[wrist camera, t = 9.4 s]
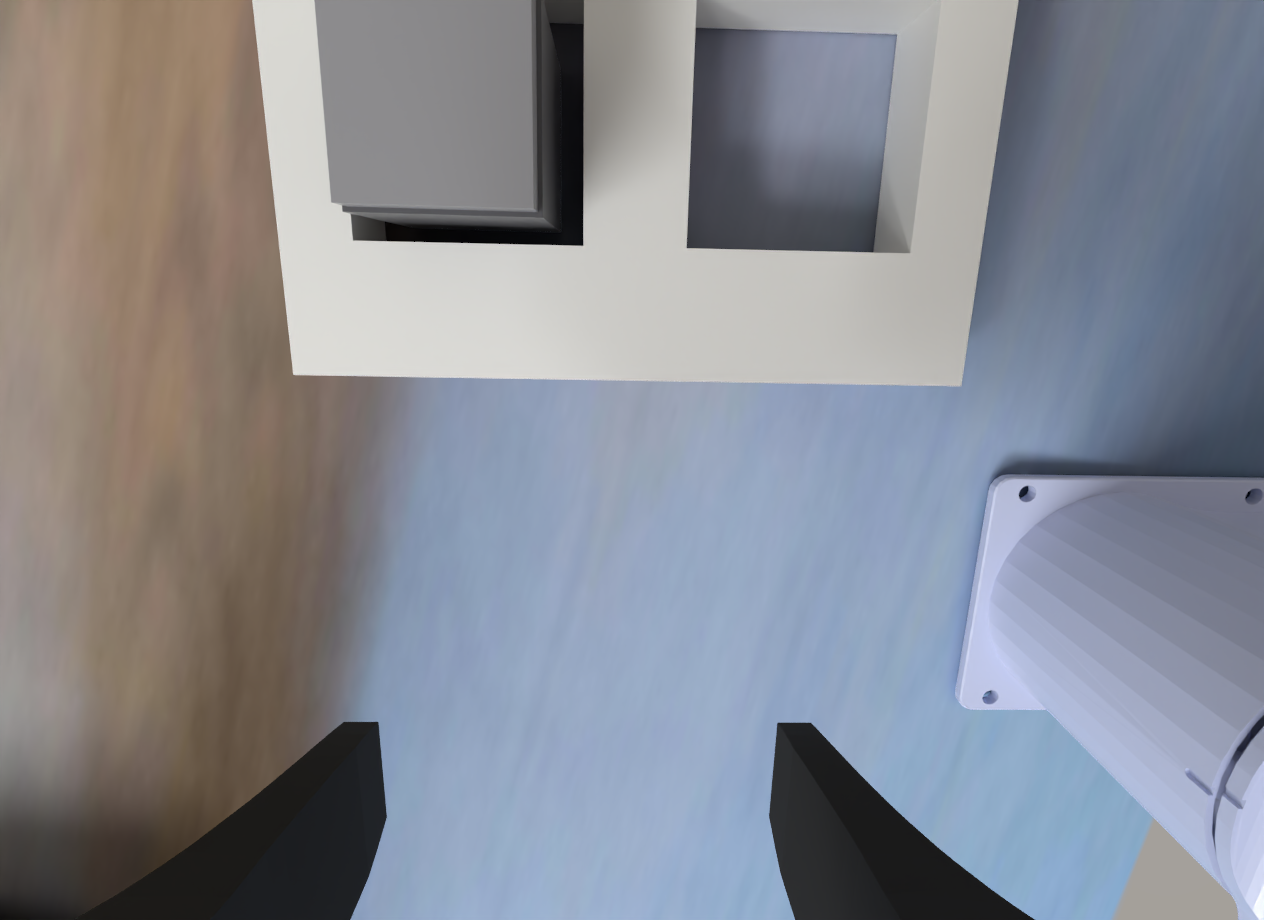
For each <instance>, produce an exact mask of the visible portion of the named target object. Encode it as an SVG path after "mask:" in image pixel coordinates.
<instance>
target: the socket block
mask: <svg viewBox="0 0 1264 920" xmlns="http://www.w3.org/2000/svg"><path fill="white" fill-rule="evenodd" d="M1018 1H1019V0H544V4H545V8H546V12H547V16H548V20H549V23H564V24H584V192H583V246H569V245H525V244H482V243H438V242H395V241H386V231H385V221H380V220H376V219H372V218H368V217H363V216H359V215H355V214H350V213H346V212H343V211H342V205H339V204H335V203H331V193H330V181H329V169H328V157H327V145H326V133H325V121H324V109H323V97H322V85H321V73H320V61H319V49H318V37H317V25H316V13H315V1H314V0H252V2H253V11H254V20H255V29H256V38H257V47H258V56H259V65H260V74H261V84H262V93H263V102H264V111H265V120H266V129H267V138H268V147H269V156H270V166H271V175H272V184H273V193H274V202H275V211H276V220H277V229H278V238H279V248H280V257H281V266H282V275H283V284H284V293H285V302H286V311H287V321H288V330H289V339H290V348H291V357H292V366H293V375H329V376H388V377H447V378H505V379H564V380H623V381H681V382H740V383H799V384H857V385H916V386H961V384H962V377H963V370H964V363H965V357H966V350H967V343H968V337H969V330H970V323H971V316H972V310H973V303H974V296H975V290H976V283H977V276H978V270H979V263H980V256H981V249H982V243H983V236H984V229H985V223H986V216H987V209H988V202H989V196H990V189H991V182H992V176H993V169H994V162H995V155H996V149H997V142H998V135H999V129H1000V122H1001V115H1002V108H1003V102H1004V95H1005V88H1006V82H1007V75H1008V68H1009V61H1010V55H1011V48H1012V41H1013V35H1014V28H1015V21H1016V14H1017V8H1018ZM695 28H716V29H746V30H777V31H807V32H838V33H868V34H897V41H896V50H895V59H894V68H893V78H892V87H891V96H890V105H889V114H888V123H887V133H886V142H885V151H884V160H883V169H882V178H881V187H880V197H879V206H878V215H877V224H876V233H875V242H874V252H873V253H872V252H829V251H786V250H742V249H699V248H687V226H688V201H689V176H690V152H691V127H692V102H693V77H694V52H695Z"/></svg>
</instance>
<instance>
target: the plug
mask: <svg viewBox="0 0 1264 920" xmlns="http://www.w3.org/2000/svg"><path fill="white" fill-rule="evenodd" d="M314 1H315V13H316V25H317V37H318V49H319V61H320V73H321V85H322V97H323V109H324V121H325V133H326V145H327V157H328V169H329V181H330V193H331V203H335V204H339V205H342V211H343V212H346V213H350V214H355V215H359V216H363V217H368V218H372V219H376V220H380V221H385V222H389V223H393V224H398V225H402V226H406V227H410V228H415V229H449V230H483V231H517V232H551V233H561V68H560V64H559V60H558V56H557V52H556V48H555V44H554V40H553V36H552V32H551V28H550V24H549V20H548V16H547V12H546V8H545V4H544V0H314Z"/></svg>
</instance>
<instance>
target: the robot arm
mask: <svg viewBox="0 0 1264 920" xmlns="http://www.w3.org/2000/svg"><path fill="white" fill-rule="evenodd" d="M1024 486H1028V489H1029V490H1028V492H1027V494H1026V495H1025V496H1024V497H1021V498H1019V492H1020V490H1021V489H1022V488H1023V487H1024ZM1250 490H1251V493H1250V495H1249V497H1248V498H1246V499H1245V496H1246V495H1247V493H1248V492H1249V491H1250ZM990 690H992V691H991V693H990V694H989V695H988V696H986V697H983V695H984V693H986V692H987V691H990ZM955 696H956V698H957V699H958V701H959V702H960V703H961V705H962V706H963V707H965V708H967V709H971V710H1048V711H1049V712H1050V714H1051V715H1052V716H1053V717H1054V718H1055V719H1056V720H1057V721H1058V722H1059V723H1060V724H1061V725H1062V726H1063V727H1064V728H1065V729H1066V730H1067V731H1068V732H1069V733H1070V734H1071V735H1072V736H1073V737H1074V738H1075V739H1076V740H1077V741H1078V742H1079V743H1080V744H1081V745H1082V746H1083V747H1084V748H1085V749H1086V750H1087V751H1088V752H1089V753H1090V754H1091V755H1092V756H1093V757H1094V758H1095V759H1096V760H1097V761H1098V762H1099V763H1100V764H1101V765H1102V766H1103V767H1104V768H1105V769H1106V770H1107V771H1108V772H1109V773H1110V774H1111V775H1112V776H1113V777H1114V778H1115V779H1116V780H1117V781H1118V782H1119V783H1120V784H1121V785H1122V786H1123V787H1124V788H1125V789H1126V790H1127V791H1128V792H1129V793H1130V794H1131V795H1132V796H1133V797H1134V798H1135V799H1136V800H1137V801H1138V802H1139V803H1140V804H1141V805H1142V806H1143V807H1144V808H1145V809H1146V810H1147V811H1148V812H1149V813H1150V814H1151V815H1152V816H1153V817H1154V818H1155V819H1156V820H1157V821H1158V822H1159V823H1160V824H1161V825H1162V826H1163V827H1164V828H1165V829H1166V830H1167V831H1168V832H1169V833H1170V834H1171V835H1172V836H1173V837H1174V838H1175V839H1176V840H1177V841H1178V843H1179V844H1180V845H1181V846H1183V848H1185V850H1186V851H1187V852H1188V853H1189V854H1190V855H1192V856H1193V857H1194V859H1195V860H1196V861H1197V862H1198V863H1199V864H1201V866H1202V867H1203V868H1204V869H1205V870H1206V871H1207V872H1208V873H1209V874H1211V876H1212V877H1213V878H1214V879H1215V880H1216V881H1217V882H1218V883H1219V884H1220V885H1221V886H1222V887H1223V888H1224V889H1225V890H1226V891H1227V892H1228V893H1229V894H1230V895H1232V896H1233V898H1234V900H1235V902H1236V905H1237V909H1238V920H1264V478H1246V477H1169V476H1093V475H1016V474H1007V475H1001V476H999V477H998V478H996V479H995V480H994V481H993V482H992V483H991V485H990V488H989V491H988V497H987V503H986V509H985V515H984V521H983V527H982V533H981V539H980V545H979V551H978V557H977V563H976V569H975V575H974V581H973V587H972V593H971V599H970V605H969V611H968V617H967V623H966V629H965V635H964V641H963V647H962V653H961V659H960V665H959V671H958V677H957V683H956V689H955ZM386 818H387V815H386V804H385V793H384V781H383V770H382V759H381V748H380V736H379V725H378V722H343V723H342V724H341V725H340V726H338V727H337V728H336V729H335V730H333V731H332V732H331V733H330V734H329V735H327V736H326V737H325V738H324V739H323V740H322V741H320V742H319V743H318V744H317V745H316V746H314V747H313V748H312V749H311V750H310V751H309V752H307V753H306V754H305V755H304V756H303V757H302V758H300V759H299V760H298V761H297V762H296V763H295V764H293V765H292V766H291V767H290V768H289V769H287V770H286V771H285V772H284V773H283V774H281V775H280V776H279V777H278V778H277V779H275V780H274V781H273V782H272V783H271V784H269V785H268V786H267V787H266V788H265V789H263V790H262V791H261V792H260V793H258V794H257V795H256V796H255V797H254V798H252V799H251V800H250V801H249V802H247V803H246V804H245V805H243V806H242V807H241V808H239V809H238V810H237V811H236V812H234V813H233V814H232V815H230V816H229V817H228V818H226V819H225V820H224V821H222V822H221V823H220V824H218V825H217V826H216V827H215V828H213V829H212V830H211V831H209V832H208V833H207V834H205V835H204V836H203V837H201V838H200V839H199V840H198V841H196V842H195V843H193V844H192V845H191V846H189V847H188V848H186V849H185V850H184V851H182V852H181V853H179V854H178V855H176V856H175V857H174V858H172V859H171V860H169V861H168V862H166V863H165V864H163V865H162V866H160V867H159V868H157V869H156V870H154V871H153V872H151V873H150V874H148V875H147V876H145V877H144V878H142V879H141V880H139V881H138V882H136V883H135V884H133V885H132V886H130V887H128V888H127V889H125V890H124V891H122V892H120V893H119V894H117V895H116V896H114V897H112V898H111V899H109V900H107V901H106V902H104V903H102V904H100V905H99V906H97V907H95V908H94V909H92V910H90V911H88V912H87V913H85V914H83V915H82V916H80V917H78V918H77V919H75V920H350V919H351V917H352V914H353V912H354V910H355V907H356V905H357V903H358V900H359V898H360V896H361V893H362V891H363V889H364V886H365V884H366V882H367V879H368V877H369V874H370V871H371V868H372V864H373V861H374V858H375V855H376V852H377V849H378V845H379V842H380V838H381V835H382V831H383V828H384V825H385V821H386ZM769 818H770V823H771V828H772V833H773V838H774V843H775V849H776V853H777V858H778V863H779V867H780V872H781V876H782V879H783V882H784V886H785V889H786V892H787V895H788V898H789V901H790V905H791V908H792V911H793V914H794V917H795V920H1034V919H1033V918H1031V917H1030V916H1028V915H1027V914H1025V913H1024V912H1022V911H1021V910H1019V909H1018V908H1016V907H1015V906H1013V905H1012V904H1011V903H1009V902H1008V901H1006V900H1005V899H1004V898H1002V897H1001V896H999V895H998V894H997V893H995V892H994V891H992V890H991V889H990V888H988V887H987V886H986V885H985V884H983V883H982V882H981V881H979V880H978V879H977V878H975V877H974V876H973V875H972V874H970V873H969V872H968V871H966V870H965V869H964V868H963V867H961V866H960V865H959V864H957V863H956V862H955V861H953V860H952V859H951V858H950V857H949V856H947V855H946V854H945V853H944V852H943V851H941V850H940V849H939V848H938V847H937V846H935V845H934V844H933V843H932V842H931V841H930V840H929V839H927V838H926V837H925V836H924V835H923V834H922V833H921V832H920V831H918V830H917V829H916V828H915V827H914V826H913V825H912V824H910V823H909V822H908V821H907V820H906V819H905V818H904V817H903V816H902V815H901V814H900V813H899V812H897V811H896V810H895V809H894V808H893V807H892V806H891V805H890V804H889V803H888V802H887V801H886V800H885V799H884V798H883V797H882V796H881V795H880V794H879V793H878V792H877V791H876V790H875V789H874V788H873V787H872V786H871V785H870V784H869V783H868V782H867V781H866V780H865V779H864V778H863V777H862V776H861V775H860V774H859V773H858V772H857V771H856V770H855V769H854V768H853V767H852V766H851V765H850V764H849V763H848V762H847V761H846V759H845V758H844V757H843V756H842V755H841V754H840V753H839V752H838V751H837V750H836V749H835V748H834V747H833V746H832V745H831V744H830V742H829V741H828V740H827V739H826V738H825V737H824V736H823V735H822V734H821V733H820V732H819V731H818V730H817V729H816V728H815V727H814V726H813V725H812V724H811V723H778V724H777V735H776V746H775V757H774V768H773V780H772V791H771V802H770V813H769Z"/></svg>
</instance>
